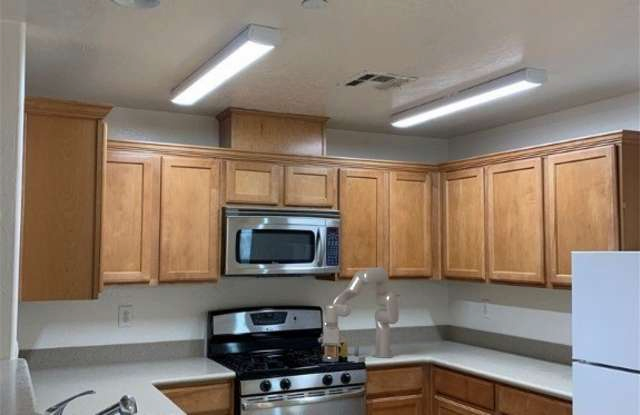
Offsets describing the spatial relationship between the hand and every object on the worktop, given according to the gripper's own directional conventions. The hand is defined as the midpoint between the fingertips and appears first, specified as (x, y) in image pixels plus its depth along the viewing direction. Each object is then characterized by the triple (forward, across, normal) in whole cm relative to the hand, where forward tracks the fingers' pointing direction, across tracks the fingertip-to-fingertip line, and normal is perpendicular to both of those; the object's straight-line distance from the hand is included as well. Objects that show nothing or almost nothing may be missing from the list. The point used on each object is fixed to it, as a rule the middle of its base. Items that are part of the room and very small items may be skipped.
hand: (331, 352), depth 385 cm
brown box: (+2, 0, 0) cm, 2 cm away
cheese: (+6, +4, +20) cm, 22 cm away
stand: (+5, +16, +3) cm, 17 cm away
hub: (+5, 0, 0) cm, 5 cm away
